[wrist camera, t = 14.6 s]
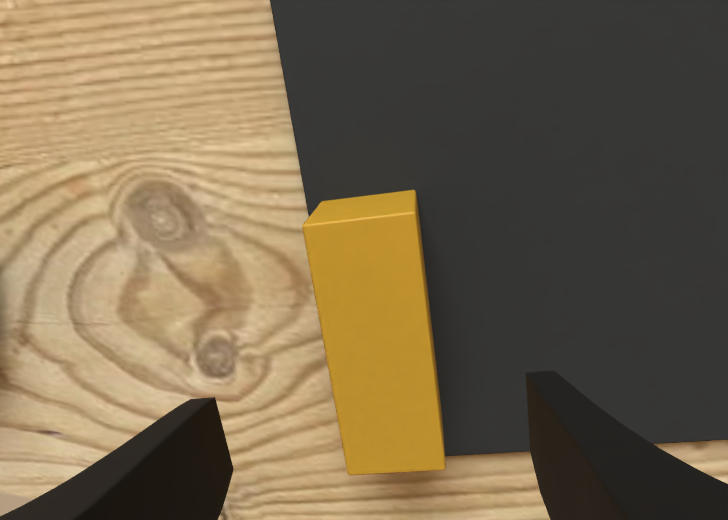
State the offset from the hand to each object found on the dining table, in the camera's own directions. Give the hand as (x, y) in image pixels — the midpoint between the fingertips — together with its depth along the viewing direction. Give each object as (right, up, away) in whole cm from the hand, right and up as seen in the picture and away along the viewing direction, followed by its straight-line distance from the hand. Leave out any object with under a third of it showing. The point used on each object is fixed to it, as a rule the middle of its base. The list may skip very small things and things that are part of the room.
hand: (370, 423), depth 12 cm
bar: (+1, +2, +6) cm, 6 cm away
